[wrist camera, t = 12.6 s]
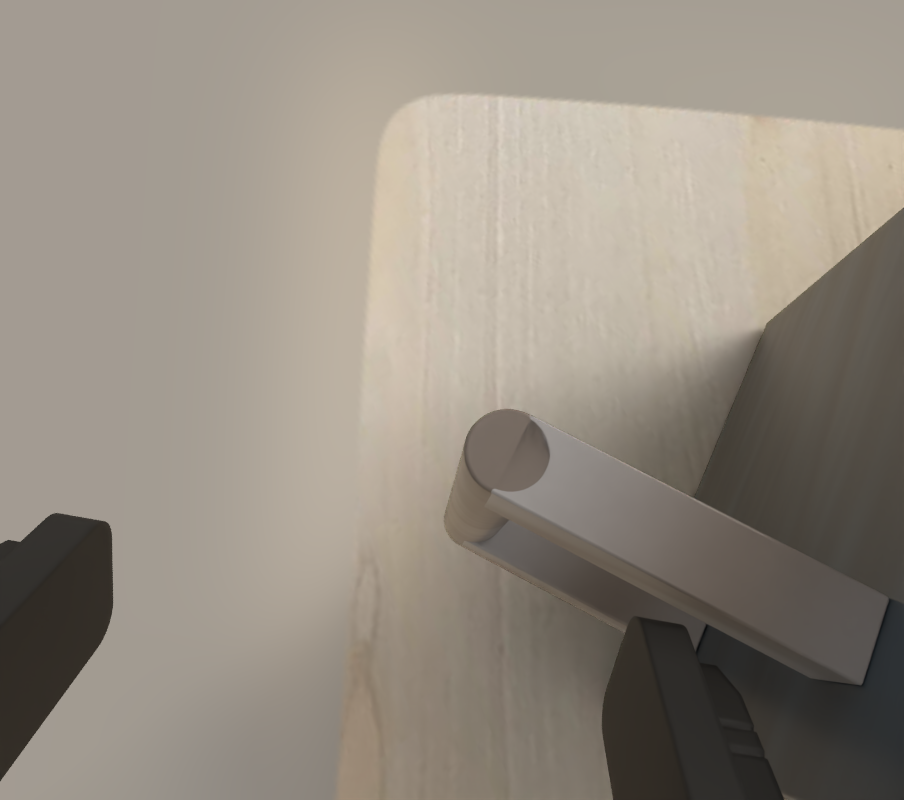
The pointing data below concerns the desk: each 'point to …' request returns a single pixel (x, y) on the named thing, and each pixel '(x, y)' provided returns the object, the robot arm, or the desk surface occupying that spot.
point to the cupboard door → (747, 530)
